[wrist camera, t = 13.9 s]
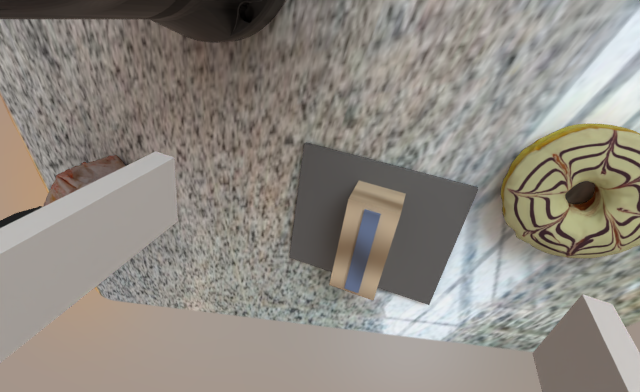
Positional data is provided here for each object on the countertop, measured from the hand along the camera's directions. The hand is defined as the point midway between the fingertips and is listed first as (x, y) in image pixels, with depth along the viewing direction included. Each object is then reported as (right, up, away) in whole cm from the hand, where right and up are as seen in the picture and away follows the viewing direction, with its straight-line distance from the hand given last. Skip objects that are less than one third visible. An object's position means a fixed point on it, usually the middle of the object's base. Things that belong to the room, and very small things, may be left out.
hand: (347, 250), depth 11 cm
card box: (+4, -2, +23) cm, 24 cm away
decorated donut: (+19, +3, +17) cm, 26 cm away
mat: (+4, -1, +24) cm, 24 cm away
